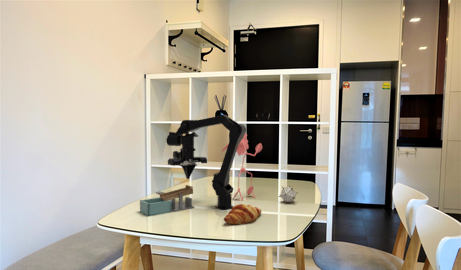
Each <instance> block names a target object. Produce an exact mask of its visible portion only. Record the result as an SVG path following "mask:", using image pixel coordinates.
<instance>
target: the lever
mask: <svg viewBox="0 0 461 270" xmlns="http://www.w3.org/2000/svg"><path fill="white" fill-rule="evenodd" d="M179 194H183V197H187V196H189V195H193V194H194V190H193V186H191V185H189V184H185V187H183V188H179V189H174V190H171V191H167V192H163V191H161V190H158V191H155V195H159V197H160V199H161V200H164V201H169V200H172V199H175V200H176V199H179Z"/></svg>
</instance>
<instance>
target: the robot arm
mask: <svg viewBox="0 0 461 270" xmlns="http://www.w3.org/2000/svg"><path fill="white" fill-rule="evenodd" d="M218 125H219V126H220V125H223V127H224V128H226V129H227V130H228V131H229V133H228V143H229V144H228V143H227V144H228V147H227V149H226V150H225V153H224V157H223V159H222V164H221V166H220V169H219V172H216V173H213V178H212V180H211V183H212V184H211V187H212V189H213V190H214V192H215V195H216V196H217V204H216V205H214V207H215V208H216V209H220V210H222V211H223V210H229V209H230V210H231V209H232V208H233V207H234V206H235V205H232V195H231V194H232V193H233V192H234V187H233V186H232V185H231V184H230V179H231V178H230V172H231V168H232V165H233V163H234V160H235V157H236V153H237V152H236V151H237V148H238V145H239V143H240V142H241V140H242V139H243V137H244V135H245V134H247V128H246V126H245V125H244V124H243V123H238V122H237V121H235V120H233V119H232V118H231V117H229V115H227V114H221V115H217V116H212V117H211V116H210V117H208V118H207V117H206V118H200V119H183V120H182V121H181V122H180V125H179V127H178V128H177V130H176V131H175V132H174V131H169V132H168V135H167V137H166V139H165V141H166V144H167V146H168V147H169V146H170V147H171V146H172V147H180V146H181V148H180V151H177V150H174V151H173V152H172V158H168V160H167V165H168V166H175V167H176V166H179V167H181V168H182V171H183V172H184V175H185V178H186V180H189V179H190V178H191V177H192V174H193V171H194V170H195V168H196V166H198V164H196V163H201V164H208V159H207V157H205V156H195V151H196V148H195V138H198V137H199V135H198V134H197V132H196V131H198V130H200V129H202V128H207V127H213V126H218Z"/></svg>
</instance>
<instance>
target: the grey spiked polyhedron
mask: <svg viewBox="0 0 461 270" xmlns="http://www.w3.org/2000/svg"><path fill="white" fill-rule="evenodd" d="M281 188H282V189H281V192H280V195H278V198H279V197H280V198H281V199H282V200H283V202H285V204H288V203H290V202H293V203H295V199H296V195H297V194H298V192H297V191H295V190H294V188H293V187H291V185H289V186H287V187H284V186H281Z"/></svg>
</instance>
